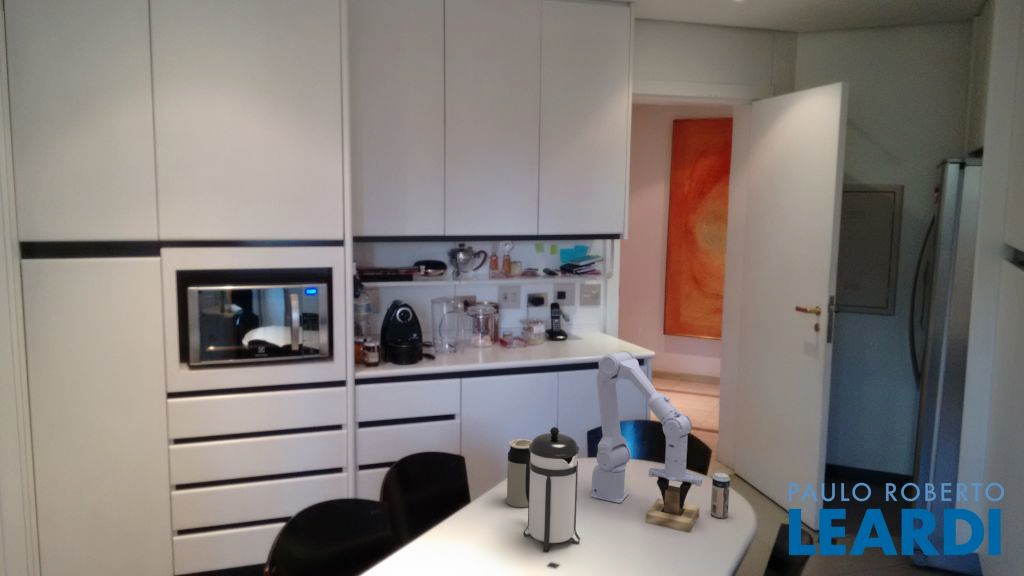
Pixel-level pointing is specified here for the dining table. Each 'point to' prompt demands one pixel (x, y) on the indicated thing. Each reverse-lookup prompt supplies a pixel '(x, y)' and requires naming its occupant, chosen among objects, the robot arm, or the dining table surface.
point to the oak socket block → (672, 516)
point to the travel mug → (517, 472)
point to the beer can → (720, 495)
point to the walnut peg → (672, 501)
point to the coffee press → (552, 488)
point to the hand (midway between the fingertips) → (673, 505)
